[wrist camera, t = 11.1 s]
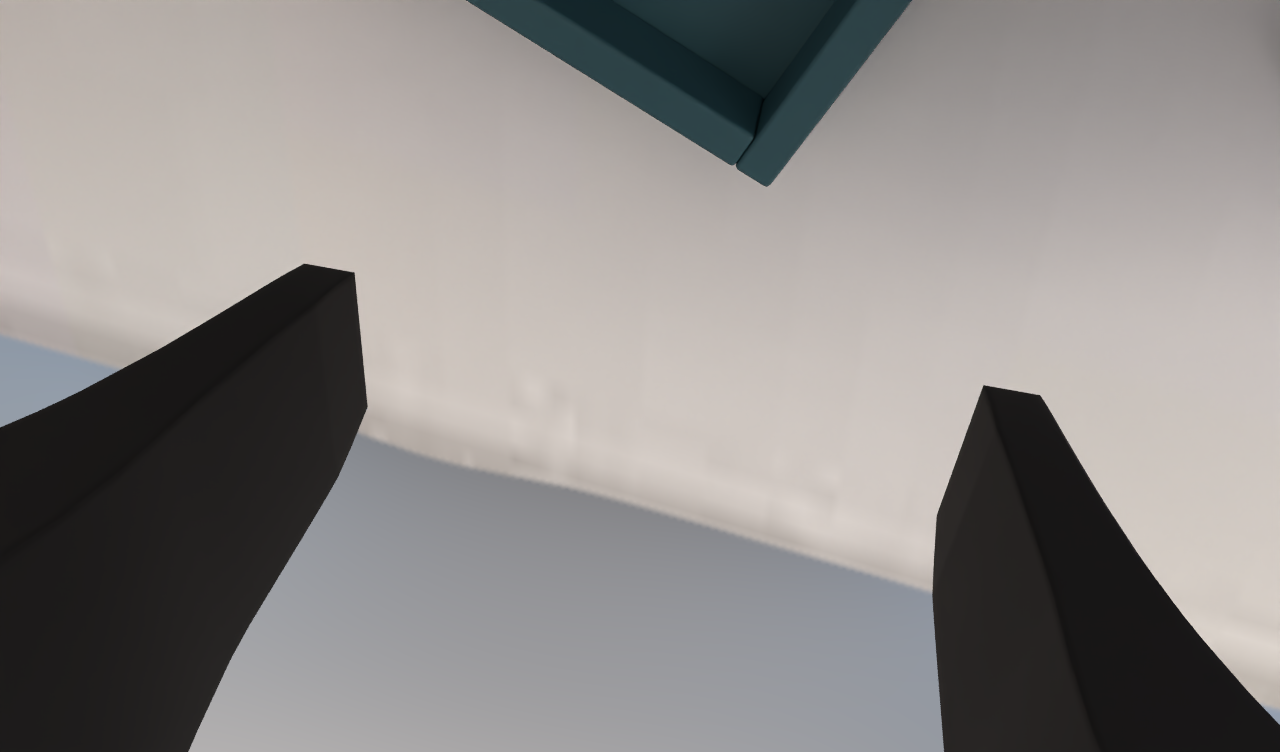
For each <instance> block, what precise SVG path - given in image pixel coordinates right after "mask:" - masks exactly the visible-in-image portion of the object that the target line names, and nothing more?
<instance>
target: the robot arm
mask: <svg viewBox="0 0 1280 752" xmlns="http://www.w3.org/2000/svg"><path fill="white" fill-rule="evenodd" d="M366 409H367V397H366V386H365V376H364V366H363V356H362V345H361V335H360V325H359V314H358V304H357V294H356V284H355V273H354V272H348V271H342V270H337V269H331V268H326V267H320V266H315V265H309V264H303V265H301V266H299V267H297V268H296V269H294V270H292V271H290V272H288V273H286V274H285V275H283V276H281V277H279V278H278V279H276V280H274V281H273V282H271V283H269V284H268V285H266V286H264V287H263V288H261V289H259V290H258V291H256V292H254V293H253V294H251V295H249V296H248V297H246V298H245V299H243V300H241V301H240V302H238V303H236V304H235V305H233V306H231V307H230V308H228V309H226V310H225V311H223V312H221V313H220V314H218V315H216V316H215V317H213V318H211V319H210V320H208V321H206V322H205V323H203V324H201V325H200V326H198V327H196V328H194V329H193V330H191V331H189V332H188V333H186V334H184V335H183V336H181V337H179V338H178V339H176V340H174V341H172V342H171V343H169V344H167V345H166V346H164V347H162V348H160V349H159V350H157V351H155V352H153V353H151V354H149V355H147V356H146V357H144V358H142V359H140V360H138V361H136V362H134V363H132V364H131V365H129V366H127V367H125V368H123V369H121V370H119V371H117V372H116V373H114V374H112V375H110V376H108V377H106V378H104V379H103V380H101V381H99V382H97V383H95V384H93V385H91V386H89V387H88V388H86V389H84V390H82V391H80V392H78V393H76V394H74V395H72V396H69V397H67V398H66V399H63V400H61V401H59V402H57V403H55V404H53V405H51V406H48V407H46V408H45V409H42V410H40V411H38V412H35V413H33V414H31V415H29V416H26V417H24V418H22V419H19V420H17V421H15V422H12V423H10V424H8V425H5V426H3V427H0V752H188V751H189V749H190V746H191V744H192V742H193V740H194V737H195V735H196V733H197V730H198V728H199V726H200V724H201V722H202V720H203V718H204V715H205V713H206V711H207V709H208V707H209V705H210V702H211V700H212V698H213V696H214V694H215V692H216V689H217V687H218V685H219V683H220V681H221V679H222V677H223V674H224V672H225V670H226V668H227V666H228V664H229V661H230V660H231V658H232V656H233V654H234V652H235V650H236V648H237V646H238V645H239V643H240V641H241V639H242V637H243V635H244V634H245V632H246V630H247V628H248V627H249V625H250V623H251V622H252V620H253V618H254V617H255V615H256V613H257V612H258V610H259V608H260V607H261V605H262V603H263V601H264V600H265V598H266V597H267V595H268V593H269V592H270V590H271V588H272V587H273V585H274V584H275V582H276V580H277V578H278V577H279V575H280V573H281V572H282V570H283V569H284V567H285V565H286V564H287V562H288V560H289V558H290V557H291V555H292V554H293V552H294V550H295V549H296V547H297V546H298V544H299V542H300V541H301V539H302V537H303V536H304V534H305V532H306V531H307V529H308V527H309V526H310V524H311V522H312V521H313V519H314V517H315V515H316V514H317V512H318V510H319V509H320V507H321V505H322V504H323V502H324V500H325V499H326V497H327V495H328V494H329V492H330V490H331V488H332V487H333V485H334V483H335V481H336V480H337V478H338V476H339V473H340V471H341V469H342V467H343V464H344V462H345V460H346V457H347V455H348V453H349V451H350V449H351V446H352V444H353V441H354V439H355V436H356V434H357V431H358V429H359V427H360V424H361V422H362V419H363V417H364V414H365V412H366ZM932 596H933V612H934V626H935V640H936V653H937V665H938V666H937V667H938V679H939V692H940V703H941V704H940V705H941V716H942V730H943V743H944V752H1280V725H1279V724H1278V723H1277V722H1276V721H1275V720H1274V719H1273V718H1272V716H1271V715H1270V714H1269V713H1268V712H1267V711H1266V710H1265V709H1264V708H1263V707H1262V706H1261V705H1260V704H1259V703H1258V702H1257V701H1256V700H1255V698H1254V697H1253V696H1252V695H1251V694H1250V693H1249V692H1248V691H1247V690H1246V689H1245V688H1244V686H1243V685H1242V684H1241V683H1240V682H1239V681H1238V680H1237V678H1236V677H1235V676H1234V675H1233V674H1232V673H1231V672H1230V670H1229V669H1228V668H1227V667H1226V666H1225V665H1224V664H1223V662H1222V661H1221V660H1220V659H1219V658H1218V657H1217V656H1216V654H1215V653H1214V652H1213V651H1212V650H1211V649H1210V647H1209V646H1208V645H1207V644H1206V643H1205V642H1204V641H1203V639H1202V638H1201V637H1200V636H1199V634H1198V633H1197V632H1196V631H1195V630H1194V628H1193V627H1192V626H1191V625H1190V623H1189V622H1188V621H1187V620H1186V618H1185V617H1184V616H1183V615H1182V613H1181V612H1180V611H1179V609H1178V608H1177V607H1176V605H1175V604H1174V603H1173V601H1172V600H1171V599H1170V597H1169V596H1168V595H1167V593H1166V592H1165V591H1164V589H1163V588H1162V587H1161V585H1160V584H1159V583H1158V581H1157V580H1156V579H1155V577H1154V576H1153V575H1152V573H1151V572H1150V570H1149V569H1148V567H1147V566H1146V565H1145V563H1144V562H1143V560H1142V559H1141V557H1140V556H1139V554H1138V553H1137V552H1136V550H1135V549H1134V547H1133V546H1132V544H1131V542H1130V541H1129V539H1128V538H1127V536H1126V535H1125V533H1124V532H1123V530H1122V529H1121V527H1120V526H1119V524H1118V523H1117V521H1116V520H1115V518H1114V517H1113V515H1112V514H1111V512H1110V510H1109V509H1108V507H1107V506H1106V504H1105V503H1104V501H1103V499H1102V498H1101V496H1100V495H1099V493H1098V491H1097V490H1096V488H1095V487H1094V485H1093V483H1092V482H1091V480H1090V478H1089V477H1088V475H1087V473H1086V472H1085V470H1084V468H1083V467H1082V465H1081V463H1080V462H1079V460H1078V458H1077V456H1076V455H1075V453H1074V451H1073V450H1072V448H1071V446H1070V444H1069V443H1068V441H1067V439H1066V438H1065V436H1064V434H1063V432H1062V431H1061V429H1060V427H1059V425H1058V424H1057V422H1056V420H1055V419H1054V417H1053V415H1052V413H1051V412H1050V410H1049V408H1048V407H1047V405H1046V404H1045V402H1044V400H1043V399H1042V397H1041V396H1040V395H1035V394H1029V393H1024V392H1018V391H1013V390H1007V389H1002V388H996V387H990V386H985V385H984V386H983V388H982V391H981V394H980V397H979V400H978V402H977V405H976V408H975V411H974V413H973V416H972V419H971V422H970V425H969V427H968V430H967V433H966V436H965V439H964V441H963V444H962V447H961V450H960V452H959V455H958V458H957V461H956V464H955V466H954V469H953V472H952V475H951V477H950V480H949V483H948V486H947V489H946V491H945V494H944V497H943V500H942V502H941V505H940V508H939V511H938V514H937V521H936V537H935V553H934V572H933V594H932Z"/></svg>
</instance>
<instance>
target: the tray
mask: <svg viewBox="0 0 1280 752" xmlns="http://www.w3.org/2000/svg"><path fill="white" fill-rule="evenodd" d="M466 1H468V2H470V3H471V4H473V5H474V6H476V7H478V8H479V9H481V10H482V11H484V12H486V13H487V14H489V15H491V16H492V17H494V18H495V19H497V20H499V21H500V22H502V23H503V24H505V25H507V26H508V27H510V28H511V29H513V30H515V31H516V32H518V33H519V34H521V35H523V36H524V37H526V38H527V39H529V40H531V41H532V42H534V43H535V44H537V45H539V46H540V47H542V48H543V49H545V50H547V51H548V52H550V53H551V54H553V55H555V56H556V57H558V58H560V59H561V60H563V61H564V62H566V63H568V64H569V65H571V66H572V67H574V68H576V69H577V70H579V71H580V72H582V73H584V74H585V75H587V76H588V77H590V78H592V79H593V80H595V81H596V82H598V83H600V84H601V85H603V86H604V87H606V88H608V89H609V90H611V91H612V92H614V93H616V94H617V95H619V96H620V97H622V98H624V99H625V100H627V101H629V102H630V103H632V104H633V105H635V106H637V107H638V108H640V109H641V110H643V111H645V112H646V113H648V114H649V115H651V116H653V117H654V118H656V119H657V120H659V121H661V122H662V123H664V124H665V125H667V126H669V127H670V128H672V129H673V130H675V131H677V132H678V133H680V134H681V135H683V136H685V137H686V138H688V139H689V140H691V141H693V142H694V143H696V144H698V145H699V146H701V147H702V148H704V149H706V150H707V151H709V152H710V153H712V154H714V155H715V156H717V157H718V158H720V159H722V160H723V161H725V162H726V163H728V164H730V165H734V164H735V163H736V168H737V169H738V170H739V171H741V172H743V173H744V174H746V175H747V176H749V177H751V178H752V179H754V180H755V181H757V182H759V183H760V184H762V185H763V186H766V187H767V186H769V185H770V184H771V183H772V182H773V181H774V179H775V178H776V177H777V176H778V174H779V173H780V172H781V170H782V169H783V168H784V166H785V165H786V164H787V163H788V161H789V160H790V159H791V157H792V156H793V155H794V153H795V152H796V151H797V150H798V148H799V147H800V146H801V144H802V143H803V142H804V140H805V139H806V138H807V136H808V135H809V134H810V133H811V131H812V130H813V129H814V127H815V126H816V125H817V123H818V122H819V121H820V120H821V118H822V117H823V116H824V114H825V113H826V112H827V110H828V109H829V108H830V107H831V105H832V104H833V103H834V101H835V100H836V99H837V97H838V96H839V95H840V94H841V92H842V91H843V90H844V88H845V87H846V86H847V84H848V83H849V82H850V81H851V79H852V78H853V77H854V75H855V74H856V73H857V71H858V70H859V69H860V68H861V66H862V65H863V64H864V62H865V61H866V60H867V58H868V57H869V56H870V55H871V53H872V52H873V51H874V49H875V48H876V47H877V45H878V44H879V43H880V42H881V40H882V39H883V38H884V36H885V35H886V34H887V32H888V31H889V30H890V29H891V27H892V26H893V25H894V23H895V22H896V21H897V19H898V18H899V17H900V16H901V14H902V13H903V12H904V10H905V9H906V8H907V6H908V5H909V4H910V2H911V1H912V0H466Z"/></svg>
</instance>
